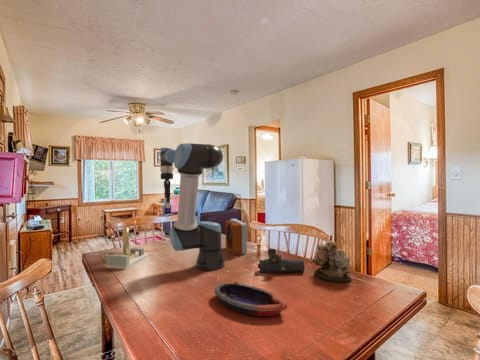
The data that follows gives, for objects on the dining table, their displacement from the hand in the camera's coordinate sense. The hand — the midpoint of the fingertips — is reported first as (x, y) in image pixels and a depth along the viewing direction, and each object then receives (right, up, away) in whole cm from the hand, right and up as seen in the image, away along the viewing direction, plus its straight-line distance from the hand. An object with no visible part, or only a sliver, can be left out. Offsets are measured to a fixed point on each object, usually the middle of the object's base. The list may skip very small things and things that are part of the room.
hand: (167, 206), depth 170 cm
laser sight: (+66, -29, -35) cm, 80 cm away
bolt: (-17, -28, -20) cm, 38 cm away
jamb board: (-17, -29, -18) cm, 38 cm away
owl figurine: (+88, -29, -43) cm, 102 cm away
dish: (+49, -30, -70) cm, 90 cm away
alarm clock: (+43, -29, +2) cm, 52 cm away
